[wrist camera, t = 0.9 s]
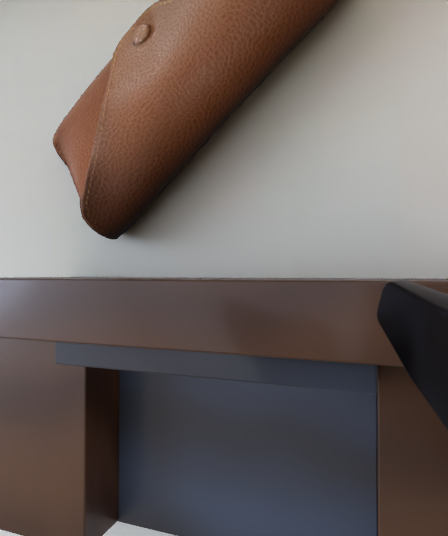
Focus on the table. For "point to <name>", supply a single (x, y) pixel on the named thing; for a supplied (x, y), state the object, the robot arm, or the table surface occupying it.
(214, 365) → the toy sofa
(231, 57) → the sunglasses case
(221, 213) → the table surface
